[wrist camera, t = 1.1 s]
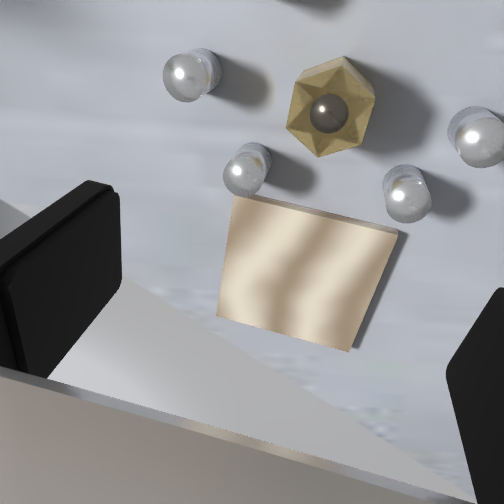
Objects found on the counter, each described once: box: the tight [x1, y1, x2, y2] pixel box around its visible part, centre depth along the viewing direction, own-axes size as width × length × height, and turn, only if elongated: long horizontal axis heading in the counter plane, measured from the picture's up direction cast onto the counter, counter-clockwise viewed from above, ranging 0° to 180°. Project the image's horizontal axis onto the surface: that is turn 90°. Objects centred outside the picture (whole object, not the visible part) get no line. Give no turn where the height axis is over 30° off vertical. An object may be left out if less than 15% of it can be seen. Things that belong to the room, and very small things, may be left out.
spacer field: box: [163, 49, 504, 223], centre depth 28 cm, size 23×16×4 cm
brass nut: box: [286, 56, 376, 157], centre depth 27 cm, size 5×6×5 cm
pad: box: [216, 195, 398, 352], centre depth 38 cm, size 14×14×1 cm
